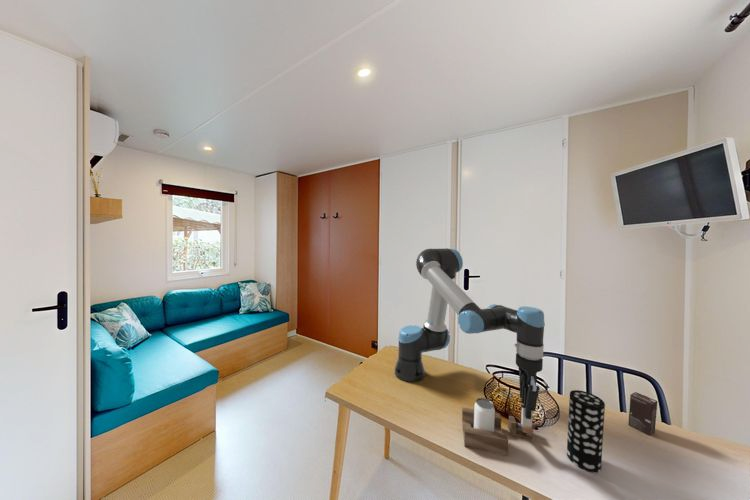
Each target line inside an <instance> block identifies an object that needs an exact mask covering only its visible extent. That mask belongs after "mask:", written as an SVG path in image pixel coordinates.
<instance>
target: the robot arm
mask: <svg viewBox="0 0 750 500" xmlns="http://www.w3.org/2000/svg"><path fill="white" fill-rule="evenodd" d="M415 262H416V263H415V266H416V269H417V272H418V273H419V275H420V276H421V277H422V278H423V279H424V280H427V281H428V282H429V283H430V284H431V285H432V286H431V293H430V300H429V308H428V313H427V320H426V319H425V321H424V322H423V327H422V326H419V325H412V324H410V325H405V326H403V327H401V328H400V330H399V331H398V353H397V354H398V357H397V361H396V364H395V366H394V375H395V377H396V378H398V379H399V380H402V381H404V382H410V383H412V382H413V383H414V382H419V381H422V380H423V379H424V378H425V373H426V372H425V371H426V370H425V368H424V364H423V361H422V358H423V357H422V355H423V354H422V353H429V352H433V351H441V350H443V349H445V348H447V347H448V345H449V344H450V341H451V336H450V331H449V329H448V328H447V325H446V324H445V322H446V315H447V310H448V305H449V306H450V308H451V309H452V310H453V311H454V312H455V313H456V315H457V316H458V317H457V324H458V325H459V329H460V330H461V331H462V332H464V333H465V334H468V335H469V334H480V333H485V332H489V331H490V332H491V331H498V330H507V331H510V332H511V333H512V332H513V333H515V334H516V343H514V347H516V351H515V352H516V353H515V365H516V366H517V368H518V373H519V375H518V376H519V398H520V399H521V401H520V402H521V406H520V407H521V414H520V415H521V417H520V419H521V420H520V423H521V424H522V426H525V427H530V428H532V429H533V427H532V426H533V412H535V411H536V407H537V403H538V402H537V401H538V395H539V391H540V386H539V385H537V381H538V376H537V373H539V372H542V371H543V362H544V361H543V360H544V359H543V357H544V335H545V334H544V333H545V314H544V311H543V310H541V309H540V308H537V307H531V306H519V307H518V308H517V310H516V309H513V308H510V307H507V306H504V305H501V304H495V303H494V304H490V305H489V306H488V307H487V308H481V307H479V306H478V305H477V304H476V302H475V301H474V300H472V298H471V297H469V296H468V295H467V294H466V292H464V290H463V289H462V288H461V287H460V286H459V285H458V284H457V283H456V282H455V281H454V280H455V279H456V275H457V273H459V272H460V271H461V270H462V268H463V266H464V265H463V263H464V262H463V257H462V255H461V253H460V251H458V250H456V249H453V248H447V247H446V248H427V249H424V250H422V251H421V252H420V253H419V254H418V256H417V258H416V261H415Z"/></svg>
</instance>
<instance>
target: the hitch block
mask: <svg viewBox="0 0 750 500" xmlns="http://www.w3.org/2000/svg"><path fill="white" fill-rule="evenodd" d="M516 422H517V421H516V419H515V416H513V415H508V424H507V425H508V430H509V433H510V436H515V437H519V438H523V439H524V438H525V439H529V440H532V439H533V434H530V433H525V432H523V431H522V430H520V429H518V428H516ZM461 423H462V424H461V425H462V435H463V443H464V448H465V447H466V448H469V449H473V450H474V449H475V450H479V451H482V452H483V451H484V452H488V453H492V454H498V455H502V456H506V457H508V456H509V443H510V442H509V438H508V435H507V434H505V433H504V432H503V429H502V417H501V413H498V412H495V419H494V432H491V431H486V430H481V429H476V428H474V408H470V407H464V406H462V407H461ZM529 428H530V427H529ZM531 429H533V425H532V428H531Z"/></svg>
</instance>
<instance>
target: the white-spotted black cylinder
mask: <svg viewBox="0 0 750 500" xmlns="http://www.w3.org/2000/svg"><path fill="white" fill-rule="evenodd" d="M605 407H606V403H605V401H604V400H603V399H601V398H600V397H599V396H597V395H595V394H592V393H590V392H588V391H583V390H577V389H575V390H570V392H569V403H568V419H567V420H568V423H567V424H568V425H567V440H566V441H567V443H566V456H567V458H568V459H569V460H570V462H571V463H572V464H574V465H575V466H577V467H578V468H580V469H581V470H584V471H585V472H588V473H589V472H590V473H594V472H596V473H599V472H598V471H600V470H602V461H603V459H602V458H603V457H602V456H603V445H604V444H603V442H604V440H603V439H604V428H605V427H604V426H605V410H606V408H605ZM600 472H601V471H600Z"/></svg>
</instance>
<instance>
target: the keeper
mask: <svg viewBox="0 0 750 500" xmlns="http://www.w3.org/2000/svg"><path fill="white" fill-rule="evenodd" d="M516 428H518V429H520V430H522V431H523V432H525V433H530V434H532V435H534V430H533V428H532V429H531V428H529V427H525V426H522V424H521V422H517V421H516Z"/></svg>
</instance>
